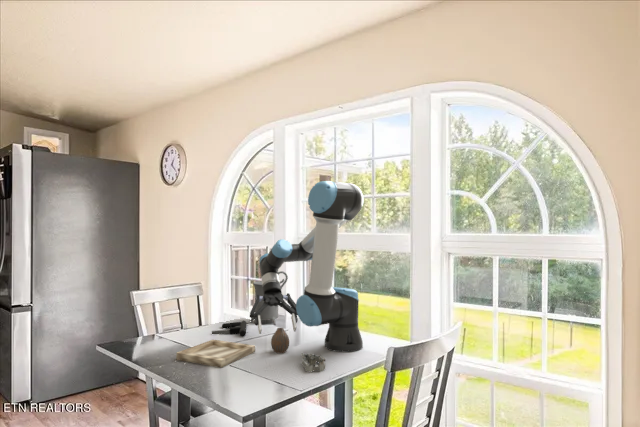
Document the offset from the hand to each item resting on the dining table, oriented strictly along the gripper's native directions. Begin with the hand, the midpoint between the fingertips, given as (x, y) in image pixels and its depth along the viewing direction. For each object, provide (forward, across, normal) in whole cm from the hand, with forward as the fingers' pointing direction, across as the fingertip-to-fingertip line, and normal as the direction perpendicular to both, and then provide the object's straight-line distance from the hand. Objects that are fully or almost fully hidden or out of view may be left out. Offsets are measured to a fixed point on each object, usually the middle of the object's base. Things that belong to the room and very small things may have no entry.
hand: (277, 330), depth 168 cm
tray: (+6, +23, -4) cm, 24 cm away
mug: (-29, -5, -40) cm, 50 cm away
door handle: (-18, +15, -30) cm, 38 cm away
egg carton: (+21, -8, +10) cm, 25 cm away
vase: (+7, 0, -4) cm, 8 cm away
